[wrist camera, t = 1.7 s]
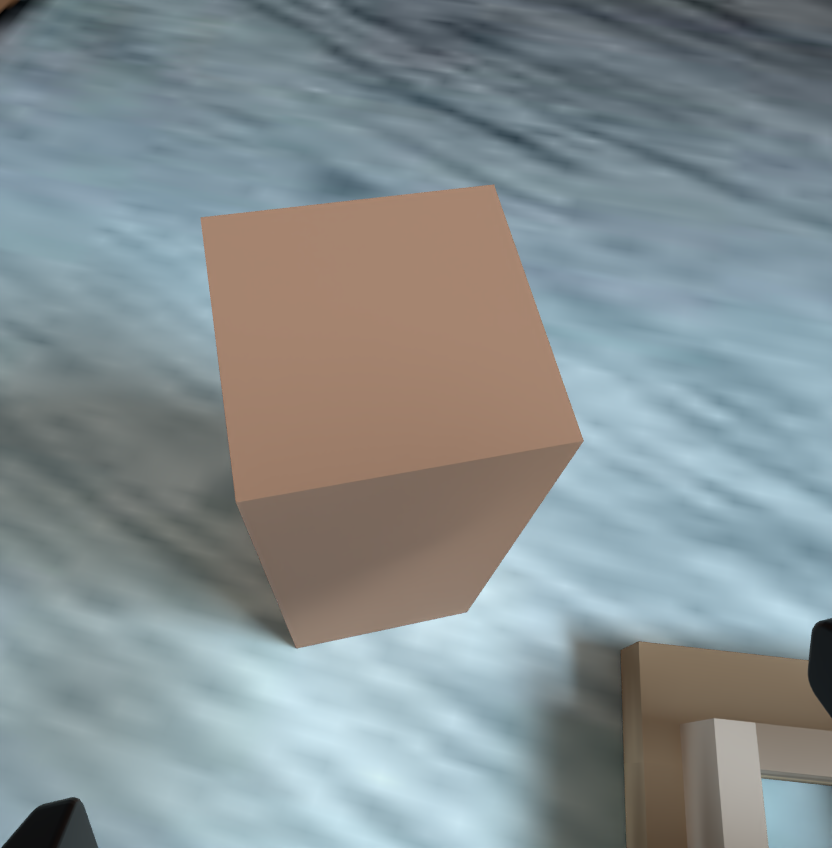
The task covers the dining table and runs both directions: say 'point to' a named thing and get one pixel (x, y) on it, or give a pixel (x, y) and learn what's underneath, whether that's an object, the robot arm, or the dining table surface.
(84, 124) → the dining table surface
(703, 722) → the plate
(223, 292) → the terracotta peg
